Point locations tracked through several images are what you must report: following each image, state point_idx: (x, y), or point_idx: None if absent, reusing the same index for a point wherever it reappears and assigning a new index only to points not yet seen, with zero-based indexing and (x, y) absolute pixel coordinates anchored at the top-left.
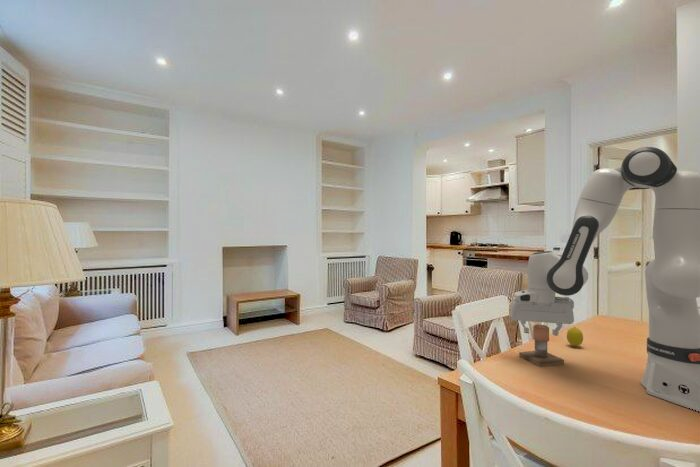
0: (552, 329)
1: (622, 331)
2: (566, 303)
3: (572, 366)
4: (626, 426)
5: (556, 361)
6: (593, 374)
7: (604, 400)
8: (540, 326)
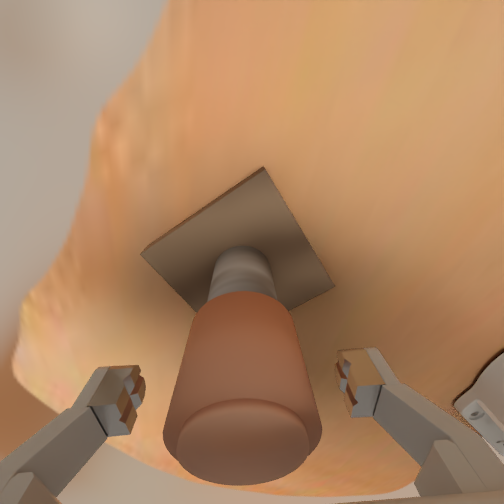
0: (356, 387)
1: None
2: None
3: (351, 289)
4: (318, 493)
5: (296, 303)
6: (389, 335)
7: (328, 446)
8: (231, 469)
